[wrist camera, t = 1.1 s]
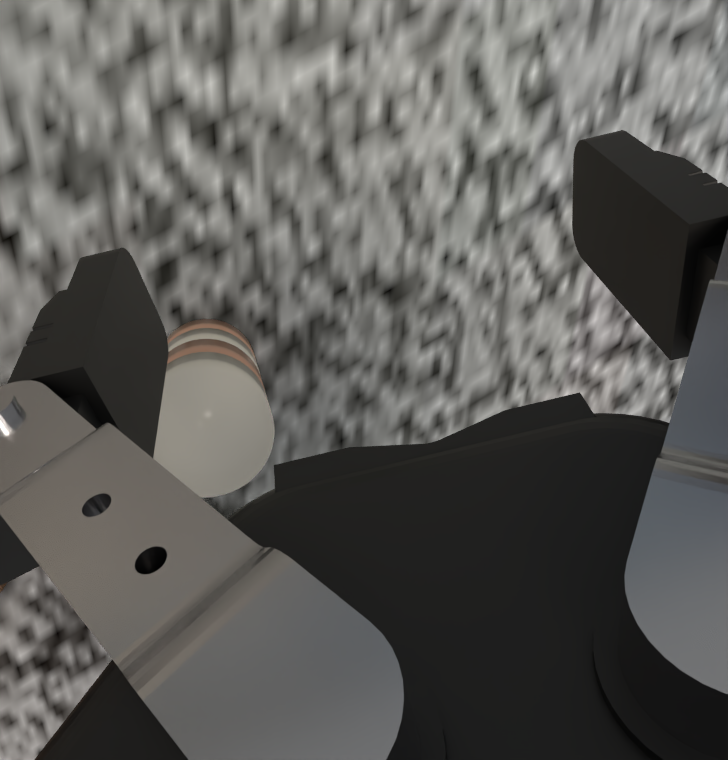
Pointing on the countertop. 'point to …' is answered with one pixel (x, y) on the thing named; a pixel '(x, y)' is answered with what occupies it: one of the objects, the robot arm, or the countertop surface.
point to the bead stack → (213, 410)
